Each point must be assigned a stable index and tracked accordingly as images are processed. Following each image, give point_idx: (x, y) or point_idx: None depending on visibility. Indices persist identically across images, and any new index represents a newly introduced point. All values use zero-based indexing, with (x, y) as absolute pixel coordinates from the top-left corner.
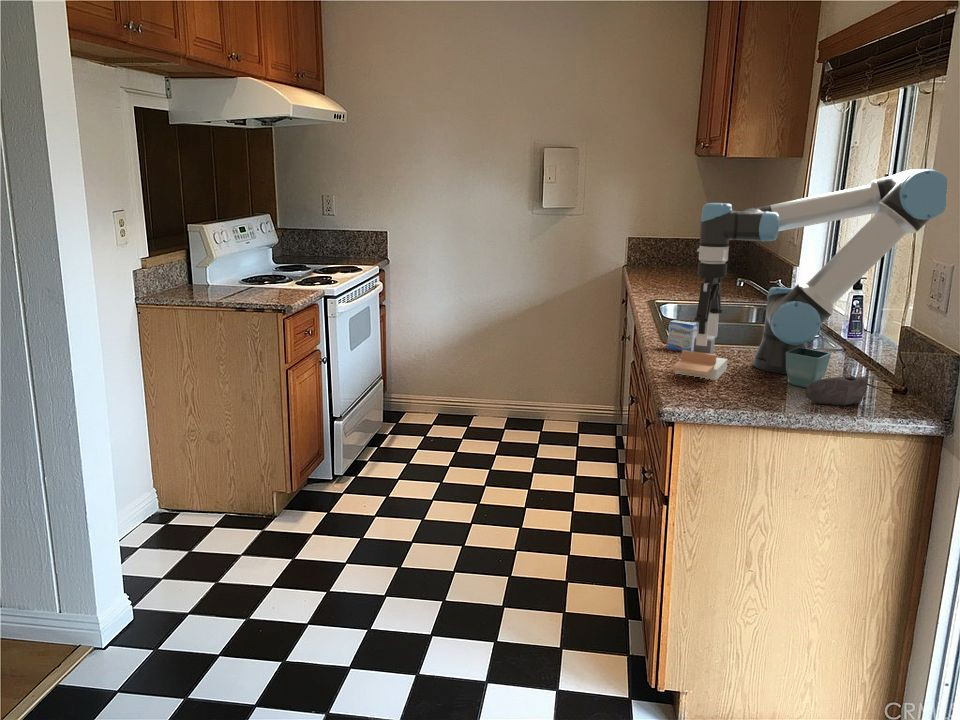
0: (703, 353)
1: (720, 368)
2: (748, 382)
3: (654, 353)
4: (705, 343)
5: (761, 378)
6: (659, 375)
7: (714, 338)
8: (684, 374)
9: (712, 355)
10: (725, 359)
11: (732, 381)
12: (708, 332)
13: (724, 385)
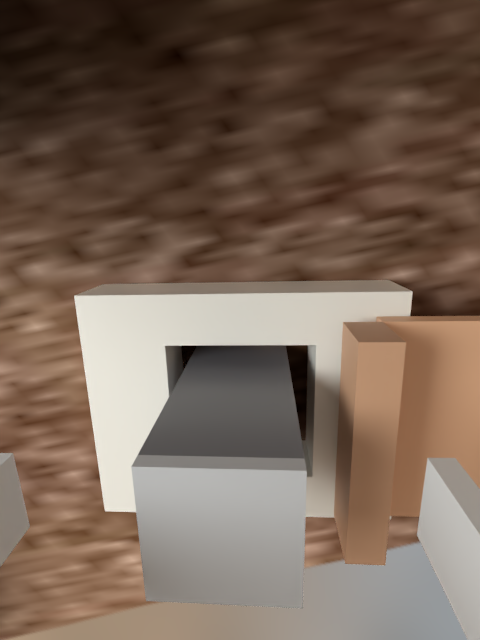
0: (379, 434)
1: (292, 289)
2: (322, 100)
3: (42, 617)
4: (466, 482)
5: (173, 47)
6: None
7: (162, 455)
8: None
9: (401, 365)
10: (96, 305)
11: (352, 193)
12: (4, 545)
13: (471, 213)
